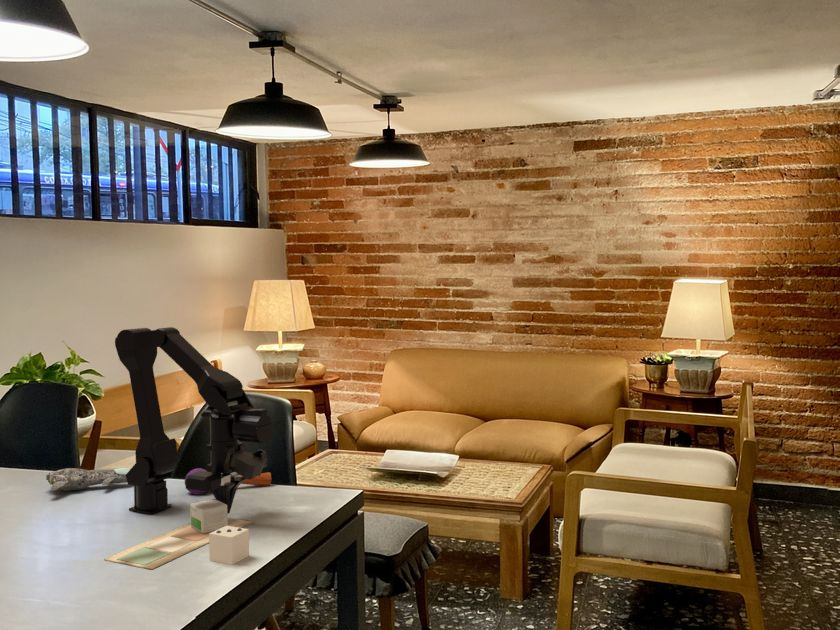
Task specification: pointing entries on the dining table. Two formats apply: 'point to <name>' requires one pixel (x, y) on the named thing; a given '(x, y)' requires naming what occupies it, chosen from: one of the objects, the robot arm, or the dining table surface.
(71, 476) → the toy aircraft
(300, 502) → the dining table surface
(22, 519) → the dining table surface
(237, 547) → the die
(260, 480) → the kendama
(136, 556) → the game board
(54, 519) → the dining table surface
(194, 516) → the small box
